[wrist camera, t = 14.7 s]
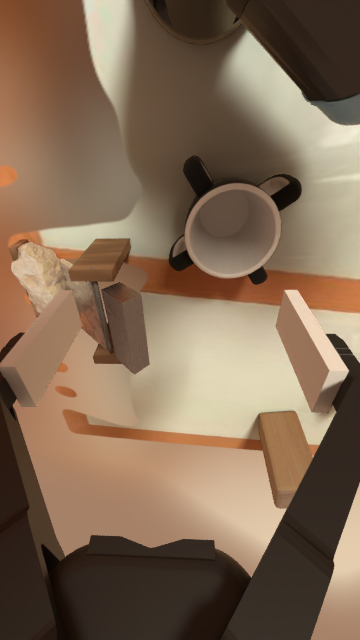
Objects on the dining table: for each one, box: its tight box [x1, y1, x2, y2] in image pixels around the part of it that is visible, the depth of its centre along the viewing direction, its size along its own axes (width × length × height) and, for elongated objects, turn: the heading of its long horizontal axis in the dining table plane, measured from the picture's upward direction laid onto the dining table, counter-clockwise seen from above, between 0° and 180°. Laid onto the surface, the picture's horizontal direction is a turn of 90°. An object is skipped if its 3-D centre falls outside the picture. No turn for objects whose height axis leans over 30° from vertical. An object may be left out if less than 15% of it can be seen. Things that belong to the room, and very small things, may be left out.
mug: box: [169, 155, 302, 285], centre depth 39 cm, size 16×16×12 cm
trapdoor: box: [58, 259, 150, 374], centre depth 44 cm, size 13×19×3 cm
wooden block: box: [259, 411, 313, 508], centre depth 68 cm, size 10×10×20 cm
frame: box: [9, 239, 131, 364], centre depth 47 cm, size 18×20×13 cm
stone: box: [11, 242, 67, 313], centre depth 48 cm, size 8×12×10 cm
